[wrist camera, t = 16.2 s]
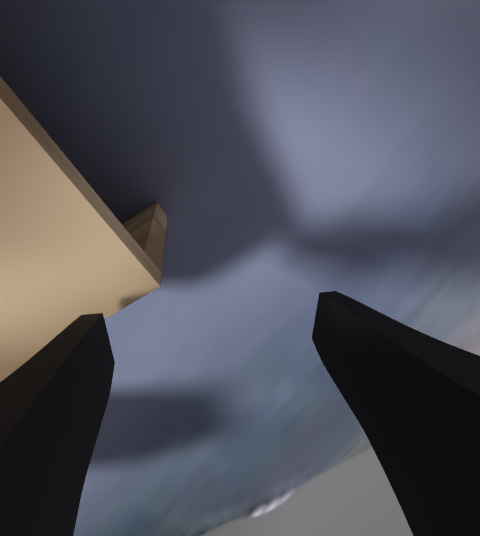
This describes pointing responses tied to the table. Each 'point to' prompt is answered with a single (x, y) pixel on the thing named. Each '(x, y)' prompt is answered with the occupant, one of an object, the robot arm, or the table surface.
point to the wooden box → (61, 242)
